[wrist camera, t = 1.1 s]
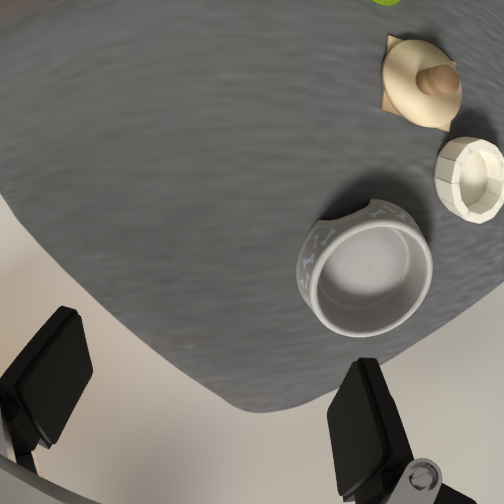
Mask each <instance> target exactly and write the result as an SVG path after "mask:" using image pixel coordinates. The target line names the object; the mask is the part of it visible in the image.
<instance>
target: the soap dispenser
mask: <svg viewBox="0 0 504 504" xmlns="http://www.w3.org/2000/svg"><path fill="white" fill-rule="evenodd" d="M372 1H374V2H376V3H378V4H381V5H387V6H389V5H394V4H397V3H398V2H399V1H400V0H372Z"/></svg>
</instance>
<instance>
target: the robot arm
mask: <svg viewBox="0 0 504 504" xmlns="http://www.w3.org/2000/svg"><path fill="white" fill-rule="evenodd" d="M92 373H93V367H92V363H91V359H90V355H89V351H88V347H87V342H86V338H85V333H84V328H83V323H82V319H81V316H80V315H78V312H77V311H76V310H75V309H72V308H68V307H65V306H60V307H59V308H58V309H57V310H56V312H55V313H54V314H53V315H52V316H51V317H50V318H49V319H48V320H47V322H46V323H45V324H44V325H43V326H42V327H41V328H40V330H39V331H38V332H37V333H36V334H35V335H34V337H33V338H32V339H31V340H30V341H29V343H28V344H27V345H26V346H25V348H24V349H23V350H22V351H21V352H20V354H19V355H18V356H17V357H16V359H15V360H14V361H13V362H12V364H11V365H10V366H9V368H8V369H7V370H6V371H5V373H4V374H3V375H2V377H1V378H0V504H101V503H98V502H95V501H93V500H90V499H88V498H85V497H83V496H80V495H78V494H76V493H74V492H71V491H69V490H67V489H65V488H63V487H60V486H58V485H56V484H54V483H52V482H50V481H48V480H46V479H44V478H43V476H42V472H41V469H40V466H39V463H38V460H37V456H36V452H35V448H36V446H37V444H39V445H41V446H43V447H45V448H47V449H50V447H51V445H52V444H55V443H56V442H57V441H58V439H59V437H60V435H61V433H62V431H63V429H64V427H65V425H66V423H67V421H68V419H69V417H70V415H71V413H72V411H73V410H74V408H75V406H76V404H77V402H78V400H79V398H80V397H81V395H82V393H83V391H84V389H85V387H86V385H87V384H88V382H89V380H90V378H91V376H92ZM327 420H328V426H329V432H330V438H331V445H332V452H333V459H334V466H335V473H336V480H337V488H338V493H339V495H340V496H343V502H351V501H355V503H356V504H477V503H476V501H474V500H473V499H471V498H469V497H467V496H466V495H463V494H462V493H460V492H458V491H456V490H454V489H452V488H451V487H449V486H447V485H445V484H443V483H442V473H441V470H440V468H439V467H438V466H437V464H436V463H434V462H433V461H431V460H429V459H426V458H419V459H415V460H414V457H413V454H412V451H411V448H410V445H409V442H408V439H407V436H406V433H405V430H404V427H403V424H402V421H401V418H400V416H399V413H398V410H397V407H396V404H395V402H394V399H393V398H392V396H391V395H390V392H389V390H388V387H387V384H386V382H385V379H384V376H383V374H382V371H381V369H380V366H379V363H378V361H377V359H375V358H359V359H358V360H357V361H354V362H353V363H352V364H351V366H350V368H349V370H348V372H347V374H346V376H345V378H344V380H343V382H342V384H341V386H340V388H339V390H338V392H337V393H336V395H335V397H334V399H333V401H332V403H331V405H330V406H329V408H328V411H327Z"/></svg>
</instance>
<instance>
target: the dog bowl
mask: <svg viewBox="0 0 504 504" xmlns="http://www.w3.org/2000/svg"><path fill="white" fill-rule="evenodd" d="M432 272H433V262H432V256H431V252H430V249H429V246H428V244H427V242H426V240H425V239H424V237H423V235H422V233H421V231H420V229H419V227H418V225H417V224H416V222H415V221H414V219H413V218H412V217H411V216H410V215H409V214H408V213H407V212H406V211H405V210H404V209H402V208H401V207H399V206H397V205H395V204H393V203H391V202H388V201H385V200H380V199H371V200H370V203H369V205H368V206H367V207H365V208H363V209H361V210H359V211H357V212H355V213H353V214H350V215H348V216H345V217H342V218H339V219H336V220H330V221H325V220H318V221H317V222H316V223H315V225H314V226H313V227H312V228H311V229H310V231H309V232H308V234H307V236H306V237H305V239H304V241H303V244H302V246H301V249H300V251H299V255H298V259H297V265H296V278H297V284H298V287H299V290H300V293H301V295H302V296H303V298H304V300H305V301H306V303H307V304H308V305H309V306H310V307H311V309H312V310H313V312H314V313H315V314H316V316H317V317H318V318H319V320H320V321H321V322H322V323H323V324H324V325H325V326H327V327H328V328H329V329H331V330H333V331H334V332H337V333H339V334H342V335H346V336H351V337H368V336H374V335H378V334H381V333H384V332H387V331H389V330H391V329H393V328H395V327H396V326H398V325H400V324H401V323H402V322H404V321H405V320H406V319H407V318H409V317H410V316H411V315H412V314H413V313H414V312H415V310H416V309H417V308H418V307H419V305H420V304H421V302H422V301H423V299H424V298H425V296H426V293H427V291H428V289H429V286H430V283H431V279H432ZM402 295H403V296H402Z"/></svg>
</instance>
